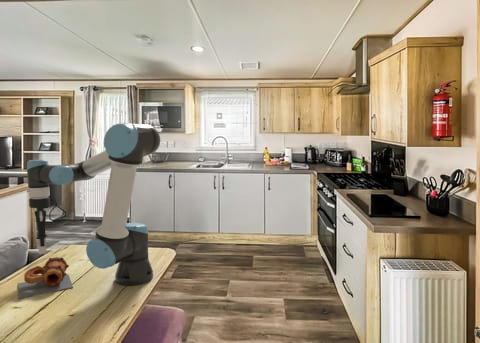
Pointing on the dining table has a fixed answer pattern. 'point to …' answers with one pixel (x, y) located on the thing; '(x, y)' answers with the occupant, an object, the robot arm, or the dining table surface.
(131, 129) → the robot arm
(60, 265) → the orange hollow piece
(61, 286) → the mat
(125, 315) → the dining table surface
